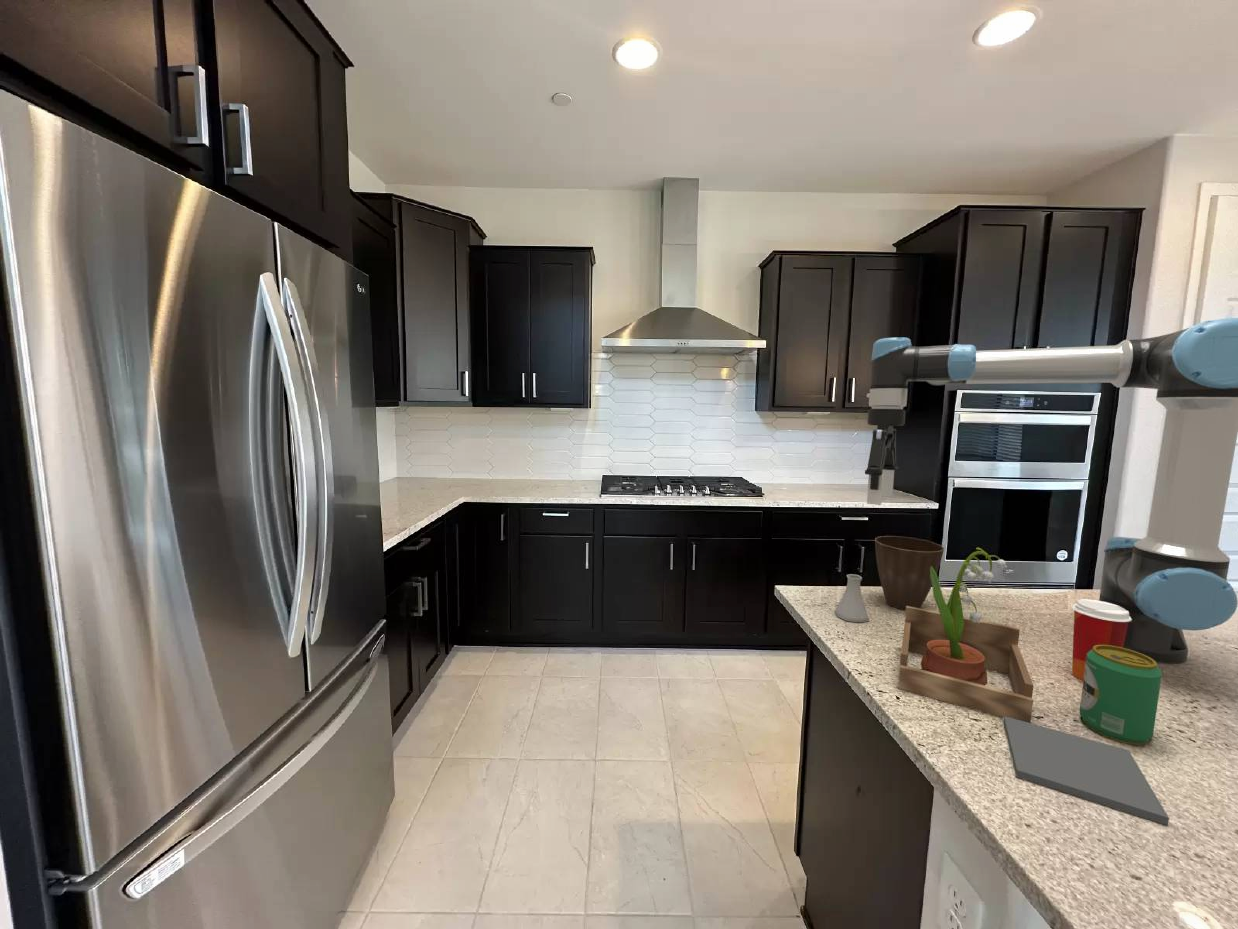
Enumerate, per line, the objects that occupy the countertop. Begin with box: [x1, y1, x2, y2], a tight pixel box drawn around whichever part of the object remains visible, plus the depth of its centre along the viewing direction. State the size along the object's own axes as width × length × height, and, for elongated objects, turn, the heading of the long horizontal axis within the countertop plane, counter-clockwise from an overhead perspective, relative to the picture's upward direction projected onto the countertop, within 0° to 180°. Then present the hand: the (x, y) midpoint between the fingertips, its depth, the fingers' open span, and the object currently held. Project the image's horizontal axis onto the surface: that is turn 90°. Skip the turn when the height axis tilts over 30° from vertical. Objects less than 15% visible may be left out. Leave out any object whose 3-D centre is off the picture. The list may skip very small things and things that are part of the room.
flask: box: [834, 573, 870, 623], centre depth 116 cm, size 7×7×10 cm
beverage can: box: [1078, 645, 1163, 746], centre depth 75 cm, size 8×8×12 cm
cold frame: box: [897, 606, 1034, 723], centre depth 88 cm, size 18×18×9 cm
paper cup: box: [1071, 598, 1132, 682], centre depth 90 cm, size 8×8×14 cm
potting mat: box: [1002, 716, 1170, 826], centre depth 67 cm, size 14×14×1 cm
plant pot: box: [874, 535, 945, 610], centre depth 124 cm, size 15×15×16 cm
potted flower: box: [920, 547, 1008, 686], centre depth 87 cm, size 12×10×25 cm
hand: (880, 500), depth 114 cm, fingers open, 13 cm apart
